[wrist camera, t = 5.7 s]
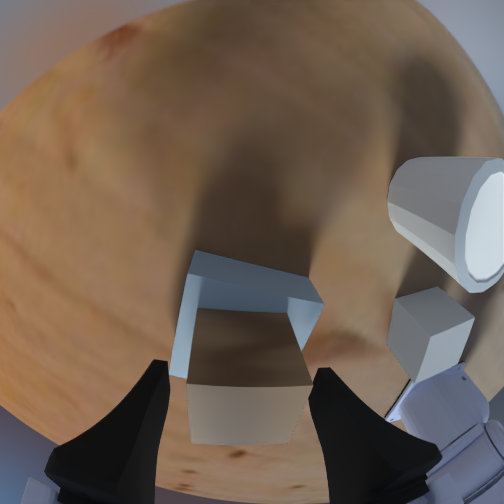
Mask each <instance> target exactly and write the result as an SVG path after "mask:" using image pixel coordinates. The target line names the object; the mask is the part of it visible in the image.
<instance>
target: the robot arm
mask: <svg viewBox="0 0 504 504" xmlns="http://www.w3.org/2000/svg"><path fill="white" fill-rule="evenodd" d="M465 366H466V363H465V362H463V363H459V364H456V365H454V366H452V367H451V368H449V369H447V370H445V371H443V372H440V373H438V374H436V375H434V376H432V377H430V378H428V379H425V380H423V381H421V382H418V383H416V384H414V383H413V382H412V380H411V381H410V382H409V384H408V385H407V387H406V389H405V390H404V392H403V393H402V395H401V396H400V398H399V399H398V401H397V402H396V404H395V405H394V406H393V408H392V409H391V411H390V412H389V413H388V415H387V416H386V417H385V419H384V418H382V417H381V416H379V415H378V414H377V413H375V412H374V411H373V410H372V409H371V408H369V407H368V406H367V405H366V404H365V403H364V402H363V401H362V400H361V399H360V398H359V397H358V396H356V395H355V394H354V392H353V391H352V390H351V389H350V388H349V387H348V386H347V385H346V384H345V383H344V382H343V381H342V380H341V379H340V378H339V377H338V375H337V374H336V373H335V372H334V371H333V370H332V369H331V368H330V367H328V368H318V370H317V373H316V375H315V378H314V381H313V388H312V390H311V393H310V395H309V397H308V400H309V406H310V412H311V416H312V419H313V422H314V425H315V428H316V431H317V434H318V438H319V441H320V444H321V447H322V451H323V454H324V460H325V466H326V472H327V479H328V487H329V499H330V504H504V472H502V474H500V475H499V476H498V477H497V478H495V479H494V480H493V481H492V482H491V483H489V484H488V485H487V486H485V487H484V488H483V489H481V490H480V491H479V492H477V493H476V494H474V495H473V496H472V497H470V498H469V499H467V500H465V501H463V500H464V499H466V498H468V497H469V496H470V495H472V494H473V493H474V492H476V491H477V490H479V489H480V488H481V487H483V486H484V485H485V484H487V483H488V482H489V481H490V480H492V479H493V478H494V477H495V476H497V475H498V474H499V473H500V472H501V471H502V470H504V427H503V426H502V425H501V424H500V423H499V422H498V421H497V420H489V421H488V422H487V420H488V417H489V405H488V401H487V399H486V398H485V396H484V395H483V394H482V392H481V391H480V390H479V389H478V387H477V386H476V385H475V384H474V382H473V381H472V380H471V379H470V378H469V376H468V375H467V374H466V373H465V372H464V368H465ZM169 397H170V382H169V372H168V361H162V360H155V359H154V360H153V361H152V362H151V364H150V365H149V367H148V368H147V370H146V371H145V373H144V374H143V375H142V377H141V378H140V380H139V381H138V382H137V383H136V385H135V386H134V387H133V388H132V390H131V391H130V392H129V393H128V394H127V395H126V397H125V398H124V399H123V400H122V401H121V402H120V403H119V404H118V405H117V406H116V407H115V408H114V409H113V410H112V411H111V412H110V413H109V414H108V415H107V416H105V417H104V418H103V419H102V420H100V421H99V422H98V423H97V424H95V425H94V426H93V427H91V428H90V429H89V430H87V431H85V432H84V433H82V434H81V435H79V436H77V437H76V438H74V439H72V440H70V441H68V442H66V443H64V444H62V445H60V446H58V447H56V448H54V449H53V451H52V453H51V455H50V457H49V460H48V462H47V465H46V468H45V471H44V472H45V474H46V475H47V476H48V477H49V478H50V479H51V480H52V481H53V482H54V483H56V484H57V485H58V486H59V487H60V488H61V489H60V493H58V492H57V491H55V490H54V489H52V488H50V487H48V486H46V485H44V484H42V483H40V482H38V481H36V480H34V479H33V478H31V477H30V478H29V479H28V482H27V485H26V488H25V491H24V494H23V497H22V501H21V504H154V498H155V477H156V465H157V455H158V448H159V443H160V439H161V435H162V431H163V427H164V423H165V419H166V414H167V410H168V404H169ZM400 419H401V420H402V422H403V424H404V425H405V427H406V429H407V431H408V433H409V434H408V433H407V432H405V431H403V430H401V429H399V428H397V427H396V426H394V425H392V424H391V423H389V422H392V421H396V420H400Z"/></svg>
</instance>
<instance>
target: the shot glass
mask: <svg viewBox="0 0 504 504" xmlns="http://www.w3.org/2000/svg"><path fill="white" fill-rule="evenodd" d="M387 204H388V211H389V218H390V220H391V222H392V223H393V225H394V227H395V229H396V231H398V232H399V233H400V234H401V235H403V236H404V237H405V238H407V239H408V240H409V241H410V242H412V243H413V244H414V245H415V246H417V247H418V248H419V249H420V250H421V251H423V252H424V253H425V254H426V255H427V256H429V257H430V258H431V259H432V260H433V261H435V262H436V263H437V264H438V265H439V266H440V267H441V268H443V269H444V270H445V271H446V272H447V273H448V274H449V275H450V276H452V277H453V278H454V279H455V280H456V281H457V282H458V283H459V284H460V285H461V286H463V287H464V288H465V289H466V290H467V291H468V292H469V293H477V292H484V291H485V290H487V289H488V288H489V287H491V286H492V285H494V284H495V283H496V282H497V281H498V280H499V278H500V277H501V276H502V275H503V273H504V160H503V159H501V158H495V157H418V158H414V159H410V160H407V161H406V162H405V163H404V164H403V165H402V166H400V167H399V168H398V169H397V171H396V173H395V175H394V177H393V179H392V181H391V182H390V185H389V192H388V198H387Z"/></svg>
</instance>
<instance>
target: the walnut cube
mask: <svg viewBox="0 0 504 504" xmlns="http://www.w3.org/2000/svg"><path fill="white" fill-rule="evenodd" d="M186 386H187V401H188V414H189V425H190V436H191V443H197V444H212V445H270V444H286V443H288V442H289V440H290V438H291V436H292V434H293V432H294V429H295V427H296V425H297V423H298V421H299V418H300V416H301V414H302V412H303V409H304V407H305V405H306V402H307V400H308V397H309V395H310V393H311V390H312V388H313V383H312V380H311V377H310V374H309V372H308V369H307V366H306V363H305V360H304V358H303V355H302V352H301V349H300V347H299V344H298V341H297V338H296V336H295V333H294V330H293V327H292V325H291V322H290V319H289V316H288V314H287V313H270V312H249V311H232V310H217V309H204V308H197V312H196V318H195V325H194V332H193V338H192V345H191V352H190V359H189V367H188V375H187V383H186Z"/></svg>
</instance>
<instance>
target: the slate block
mask: <svg viewBox="0 0 504 504" xmlns="http://www.w3.org/2000/svg"><path fill="white" fill-rule="evenodd" d="M323 306H324V303H323V301H322V299H321V297H320V296H319V294H318V292H317V291H316V289H315V287H314V286H313V284H312V282H311V281H310V279H309V278H308V277H304V276H300V275H296V274H292V273H288V272H283V271H279V270H275V269H271V268H267V267H263V266H259V265H255V264H251V263H247V262H243V261H239V260H235V259H231V258H227V257H223V256H219V255H215V254H211V253H207V252H203V251H199V250H195V252H194V255H193V258H192V262H191V265H190V268H189V271H188V274H187V279H186V283H185V288H184V293H183V298H182V303H181V308H180V313H179V318H178V324H177V329H176V335H175V340H174V346H173V352H172V358H171V364H170V371H169V375H173V376H177V377H182V378H186V379H187V375H188V367H189V359H190V352H191V345H192V338H193V332H194V325H195V318H196V312H197V308H204V309H217V310H232V311H249V312H270V313H287V314H288V316H289V319H290V322H291V325H292V327H293V330H294V333H295V336H296V338H297V341H298V344H299V347H300V349H301V351H302V349H303V347H304V345H305V343H306V341H307V339H308V337H309V335H310V333H311V331H312V329H313V327H314V325H315V323H316V321H317V319H318V317H319V315H320V313H321V311H322V308H323Z"/></svg>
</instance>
